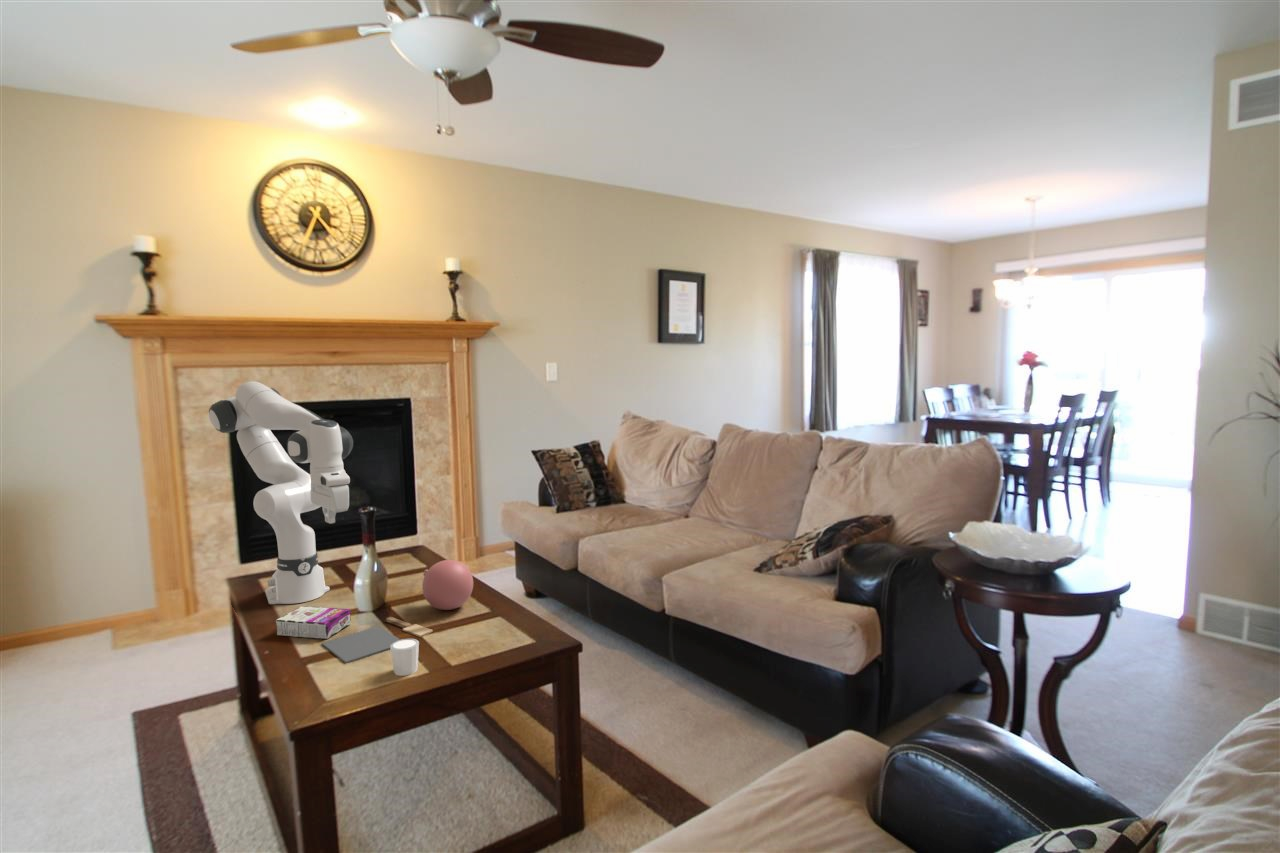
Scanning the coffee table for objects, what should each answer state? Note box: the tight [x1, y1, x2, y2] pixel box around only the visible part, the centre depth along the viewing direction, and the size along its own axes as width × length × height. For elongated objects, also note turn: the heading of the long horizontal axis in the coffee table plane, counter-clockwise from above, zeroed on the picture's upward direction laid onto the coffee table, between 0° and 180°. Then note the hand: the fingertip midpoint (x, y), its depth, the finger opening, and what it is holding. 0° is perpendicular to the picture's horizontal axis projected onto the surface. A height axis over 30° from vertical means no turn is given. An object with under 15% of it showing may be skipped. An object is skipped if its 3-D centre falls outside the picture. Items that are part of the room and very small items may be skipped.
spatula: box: [385, 616, 434, 638], centre depth 193 cm, size 18×4×1 cm, turn 55°
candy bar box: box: [275, 605, 352, 640], centre depth 192 cm, size 11×5×16 cm
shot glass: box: [390, 638, 420, 677], centre depth 166 cm, size 7×7×7 cm
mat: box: [321, 625, 401, 664], centre depth 182 cm, size 17×16×1 cm
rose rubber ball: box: [421, 559, 474, 611], centre depth 209 cm, size 15×20×15 cm
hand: (330, 522), depth 193 cm, fingers closed
